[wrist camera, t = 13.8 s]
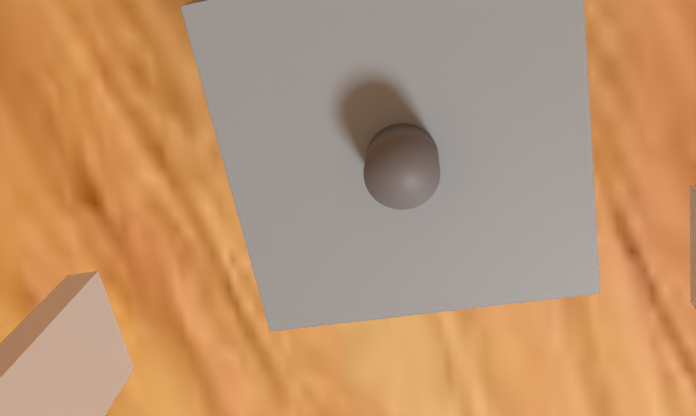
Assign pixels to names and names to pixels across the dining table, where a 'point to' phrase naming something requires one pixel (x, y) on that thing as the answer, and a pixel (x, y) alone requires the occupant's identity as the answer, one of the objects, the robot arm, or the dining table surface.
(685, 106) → the dining table surface
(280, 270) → the cover
